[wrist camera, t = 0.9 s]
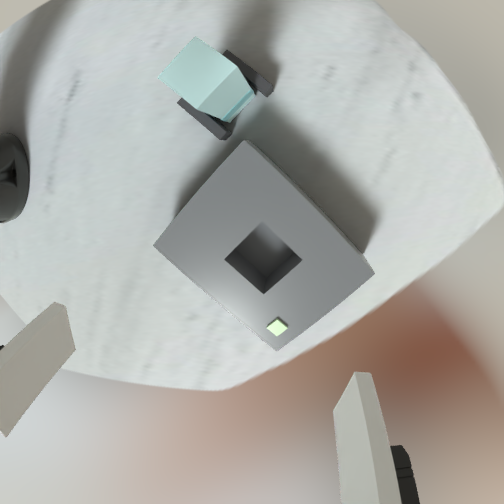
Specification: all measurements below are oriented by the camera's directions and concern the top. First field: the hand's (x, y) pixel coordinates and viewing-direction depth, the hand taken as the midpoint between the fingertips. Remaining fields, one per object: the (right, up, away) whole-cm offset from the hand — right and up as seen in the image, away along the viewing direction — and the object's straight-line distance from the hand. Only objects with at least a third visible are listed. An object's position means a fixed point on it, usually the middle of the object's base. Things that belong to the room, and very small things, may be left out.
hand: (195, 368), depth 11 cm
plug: (0, +21, +16) cm, 27 cm away
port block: (+4, +6, +21) cm, 23 cm away
